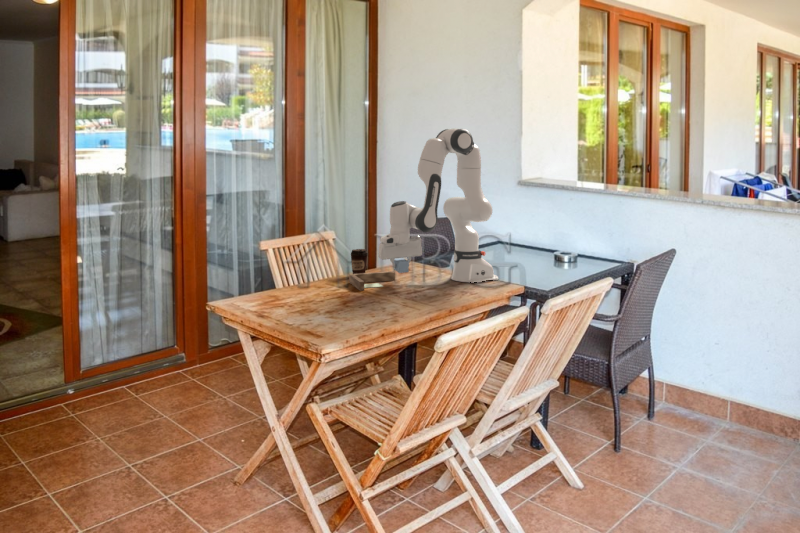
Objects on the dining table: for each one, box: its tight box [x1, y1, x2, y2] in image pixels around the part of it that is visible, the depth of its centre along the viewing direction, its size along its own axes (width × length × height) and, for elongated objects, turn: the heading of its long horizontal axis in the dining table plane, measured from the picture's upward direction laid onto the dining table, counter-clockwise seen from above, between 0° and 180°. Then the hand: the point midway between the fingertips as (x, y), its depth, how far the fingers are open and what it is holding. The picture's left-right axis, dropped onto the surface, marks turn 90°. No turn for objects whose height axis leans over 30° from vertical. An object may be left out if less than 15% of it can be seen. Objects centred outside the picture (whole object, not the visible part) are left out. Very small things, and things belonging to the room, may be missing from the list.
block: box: [393, 258, 410, 274], centre depth 345 cm, size 4×8×5 cm, turn 18°
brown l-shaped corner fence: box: [348, 270, 396, 292], centre depth 347 cm, size 22×18×4 cm
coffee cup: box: [350, 248, 369, 274], centre depth 366 cm, size 9×8×13 cm
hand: (401, 267), depth 345 cm, fingers closed on block, 4 cm apart
